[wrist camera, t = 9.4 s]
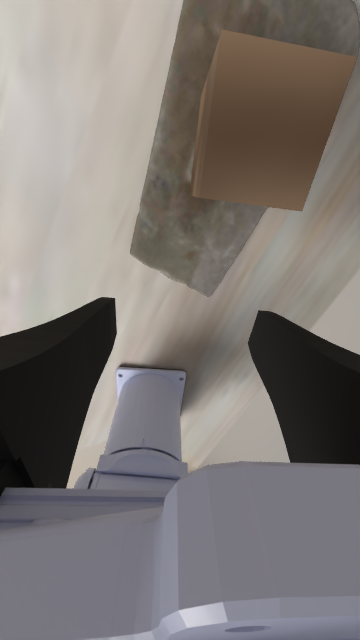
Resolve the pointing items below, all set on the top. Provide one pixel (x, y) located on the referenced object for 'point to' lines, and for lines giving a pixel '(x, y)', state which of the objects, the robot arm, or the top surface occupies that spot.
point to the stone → (181, 128)
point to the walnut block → (265, 120)
